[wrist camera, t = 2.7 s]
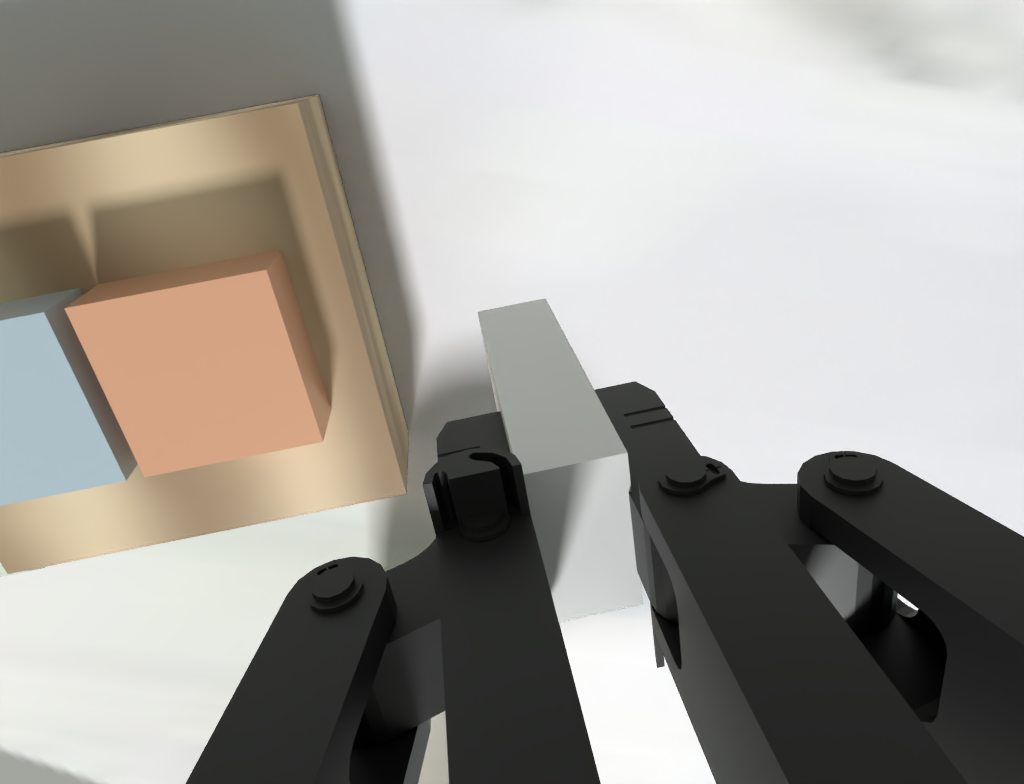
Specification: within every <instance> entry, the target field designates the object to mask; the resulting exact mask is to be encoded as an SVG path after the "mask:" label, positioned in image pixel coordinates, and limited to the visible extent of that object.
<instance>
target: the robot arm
mask: <svg viewBox="0 0 1024 784" xmlns="http://www.w3.org/2000/svg"><path fill="white" fill-rule="evenodd" d="M478 316H479V321H480V326H481V331H482V336H483V342H484V347H485V352H486V357H487V362H488V367H489V372H490V377H491V382H492V387H493V392H494V397H495V403H496V408H497V412H494V413H489V414H485V415H480V416H475V417H470V418H465V419H460V420H455V421H451V422H447V423H446V424H445V426H444V428H443V429H442V431H441V432H440V434H439V436H438V437H437V454H438V462H437V463H436V464H435V465H434V466H433V467H432V468H431V469H430V470H429V471H428V472H427V473H426V476H425V479H424V482H423V488H424V492H425V495H426V499H427V503H428V507H429V510H430V514H431V518H432V522H433V525H434V529H435V533H436V539H435V540H434V541H433V542H432V544H431V545H430V546H429V547H428V548H427V549H426V550H424V551H423V552H422V553H421V554H419V555H418V556H417V557H415V558H413V559H411V560H409V561H407V562H406V563H404V564H402V565H399V566H397V567H395V568H393V569H390V570H388V571H386V572H385V571H384V569H383V567H382V566H381V565H380V564H379V563H377V562H375V561H373V560H371V559H369V558H360V557H348V558H343V559H337V560H333V561H330V562H328V563H326V564H323V565H321V566H319V567H317V568H314V569H313V570H312V571H310V572H309V573H308V574H306V575H305V576H304V577H302V578H301V579H299V580H298V582H297V583H296V584H295V585H294V587H293V588H292V589H291V590H290V592H289V593H288V594H287V596H286V598H285V600H284V602H283V604H282V605H281V607H280V609H279V611H278V613H277V615H276V617H275V618H274V620H273V622H272V624H271V626H270V628H269V630H268V631H267V633H266V635H265V637H264V639H263V641H262V643H261V645H260V646H259V648H258V650H257V652H256V654H255V656H254V658H253V659H252V661H251V663H250V665H249V667H248V669H247V671H246V672H245V674H244V676H243V678H242V680H241V682H240V684H239V685H238V687H237V689H236V691H235V693H234V695H233V697H232V698H231V700H230V702H229V704H228V706H227V708H226V710H225V711H224V713H223V715H222V717H221V719H220V721H219V723H218V725H217V726H216V728H215V730H214V732H213V734H212V736H211V738H210V739H209V741H208V743H207V745H206V747H205V749H204V751H203V752H202V754H201V756H200V758H199V760H198V762H197V764H196V765H195V767H194V769H193V771H192V773H191V775H190V777H189V778H188V780H187V782H186V784H418V782H419V777H420V773H421V769H422V765H423V760H424V756H425V752H426V748H427V743H428V739H429V735H430V731H431V718H433V717H434V716H436V715H438V714H440V713H442V712H444V711H445V716H446V735H447V754H448V773H449V784H601V783H600V780H599V776H598V772H597V768H596V764H595V760H594V756H593V753H592V749H591V745H590V741H589V737H588V733H587V729H586V726H585V722H584V718H583V714H582V710H581V706H580V702H579V698H578V695H577V691H576V687H575V683H574V679H573V675H572V671H571V668H570V664H569V660H568V656H567V652H566V648H565V644H564V641H563V637H562V633H561V629H560V625H559V622H564V621H569V620H573V619H578V618H582V617H587V616H591V615H596V614H601V613H605V612H610V611H614V610H619V609H624V608H628V607H633V606H637V605H642V604H643V596H642V586H641V581H642V584H643V586H644V588H645V591H646V593H647V595H648V598H649V600H650V605H651V615H652V626H653V636H654V646H655V656H656V663H657V668H658V667H663V666H664V657H665V660H666V662H667V664H668V667H669V669H670V672H671V674H672V677H673V679H674V681H675V684H676V686H677V689H678V691H679V694H680V696H681V698H682V701H683V703H684V706H685V708H686V711H687V713H688V716H689V718H690V720H691V723H692V725H693V728H694V730H695V733H696V735H697V737H698V740H699V742H700V745H701V747H702V750H703V752H704V755H705V757H706V759H707V762H708V764H709V767H710V769H711V772H712V774H713V776H714V779H715V781H716V784H1024V537H1023V536H1021V535H1020V534H1018V533H1016V532H1014V531H1013V530H1011V529H1009V528H1007V527H1006V526H1004V525H1002V524H1000V523H998V522H997V521H995V520H993V519H991V518H990V517H988V516H986V515H984V514H983V513H981V512H979V511H977V510H975V509H974V508H972V507H970V506H968V505H967V504H965V503H963V502H961V501H960V500H958V499H956V498H954V497H952V496H951V495H949V494H947V493H945V492H944V491H942V490H940V489H938V488H937V487H935V486H933V485H931V484H929V483H928V482H926V481H924V480H922V479H921V478H919V477H917V476H915V475H913V474H912V473H910V472H908V471H906V470H905V469H903V468H901V467H899V466H898V465H896V464H894V463H892V462H890V461H887V460H885V459H882V458H880V457H878V456H875V455H871V454H865V453H860V452H854V451H839V452H829V453H825V454H821V455H817V456H814V457H813V458H811V459H809V460H808V461H806V462H805V463H803V464H802V466H801V468H800V470H799V472H798V475H797V484H755V483H746V482H741V481H740V480H739V479H738V478H737V476H736V475H735V474H734V472H733V471H732V470H731V469H729V468H728V467H727V466H726V465H725V464H723V463H722V462H720V461H717V460H715V459H712V458H709V457H706V456H700V454H699V453H698V452H697V450H696V449H695V447H694V446H693V445H692V443H691V442H690V440H689V439H688V437H687V436H686V435H685V433H684V432H683V430H682V429H681V428H680V426H679V425H678V423H677V422H676V420H674V419H673V416H672V415H671V413H670V412H669V411H668V409H667V408H665V405H664V404H663V402H662V401H661V399H660V398H659V396H658V395H657V394H656V392H655V391H653V390H651V389H649V388H647V387H645V386H643V385H641V384H639V383H637V382H631V383H626V384H621V385H616V386H611V387H606V388H601V389H596V390H594V389H593V387H592V385H591V383H590V381H589V379H588V378H587V376H586V374H585V372H584V370H583V368H582V366H581V364H580V362H579V361H578V359H577V357H576V355H575V353H574V351H573V349H572V347H571V346H570V344H569V342H568V340H567V338H566V336H565V334H564V332H563V331H562V329H561V327H560V325H559V323H558V321H557V319H556V317H555V316H554V314H553V312H552V310H551V308H550V306H549V304H548V302H547V301H546V299H540V300H535V301H530V302H525V303H520V304H515V305H510V306H505V307H500V308H495V309H490V310H485V311H480V312H478ZM898 593H899V594H900V595H901V596H903V597H904V598H905V599H907V600H908V601H909V602H911V603H912V604H913V605H915V606H916V607H917V608H919V609H918V611H917V610H914V609H912V608H911V607H909V606H907V605H906V604H905V603H903V602H902V601H901V600H899V599H898V598H897V595H898Z"/></svg>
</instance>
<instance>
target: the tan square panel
mask: <svg viewBox="0 0 1024 784" xmlns="http://www.w3.org/2000/svg"><path fill="white" fill-rule="evenodd" d="M276 250H281V251H282V254H283V257H284V260H285V264H286V267H287V270H288V273H289V276H290V279H291V283H292V286H293V289H294V292H295V295H296V298H297V302H298V305H299V308H300V311H301V314H302V317H303V321H304V324H305V327H306V330H307V333H308V336H309V340H310V343H311V346H312V349H313V352H314V356H315V359H316V362H317V365H318V368H319V371H320V375H321V378H322V381H323V384H324V387H325V390H326V394H327V397H328V400H329V403H330V406H331V409H332V410H331V413H330V417H329V421H328V425H327V429H326V433H325V436H324V440H323V442H320V443H315V444H310V445H305V446H300V447H295V448H290V449H285V450H280V451H275V452H270V453H265V454H260V455H255V456H250V457H245V458H240V459H235V460H230V461H224V462H219V463H214V464H209V465H204V466H199V467H194V468H189V469H184V470H179V471H174V472H169V473H164V474H159V475H154V476H149V477H144V476H143V474H142V472H141V469H140V467H139V465H137V466H136V468H135V469H134V471H133V472H132V473H131V475H130V476H129V478H128V479H127V481H124V482H119V483H114V484H109V485H103V486H98V487H93V488H88V489H83V490H78V491H73V492H68V493H63V494H58V495H53V496H48V497H43V498H38V499H33V500H28V501H23V502H18V503H13V504H8V505H3V506H0V563H1V564H2V566H3V568H4V569H5V571H6V572H7V574H11V573H16V572H21V571H26V570H31V569H36V568H41V567H46V566H51V565H56V564H61V563H66V562H71V561H76V560H81V559H86V558H91V557H96V556H101V555H106V554H111V553H116V552H120V551H125V550H130V549H135V548H140V547H145V546H150V545H155V544H160V543H165V542H170V541H175V540H180V539H185V538H190V537H195V536H200V535H205V534H210V533H215V532H220V531H225V530H230V529H235V528H240V527H245V526H250V525H255V524H260V523H265V522H270V521H275V520H280V519H285V518H290V517H295V516H299V515H304V514H309V513H314V512H319V511H324V510H329V509H334V508H339V507H344V506H349V505H354V504H359V503H364V502H369V501H374V500H379V499H384V498H389V497H394V496H399V495H404V494H406V493H407V468H408V444H409V433H408V429H407V426H406V422H405V418H404V414H403V411H402V407H401V403H400V399H399V395H398V392H397V388H396V384H395V380H394V377H393V373H392V369H391V365H390V361H389V358H388V354H387V350H386V346H385V343H384V339H383V335H382V331H381V327H380V324H379V320H378V316H377V312H376V309H375V305H374V301H373V297H372V293H371V290H370V286H369V282H368V278H367V275H366V271H365V267H364V263H363V259H362V256H361V252H360V248H359V244H358V241H357V237H356V233H355V229H354V225H353V222H352V218H351V214H350V210H349V207H348V203H347V199H346V195H345V191H344V188H343V184H342V180H341V176H340V173H339V169H338V165H337V161H336V157H335V154H334V150H333V146H332V142H331V139H330V135H329V131H328V127H327V123H326V120H325V116H324V112H323V108H322V104H321V101H320V97H319V95H314V96H308V97H303V98H297V99H292V100H287V101H281V102H276V103H270V104H265V105H260V106H254V107H249V108H243V109H238V110H232V111H227V112H222V113H216V114H211V115H205V116H200V117H194V118H189V119H184V120H178V121H173V122H167V123H162V124H156V125H151V126H146V127H140V128H135V129H129V130H124V131H118V132H113V133H108V134H102V135H97V136H91V137H86V138H81V139H75V140H70V141H64V142H59V143H53V144H48V145H43V146H37V147H32V148H26V149H21V150H15V151H10V152H5V153H0V303H3V302H8V301H14V300H19V299H24V298H29V297H35V296H40V295H45V294H50V293H56V292H61V291H66V290H71V289H77V288H80V290H81V292H82V294H83V295H84V294H85V293H87V292H88V291H89V290H91V289H92V288H94V287H95V286H97V285H98V284H103V283H108V282H113V281H119V280H124V279H129V278H134V277H140V276H145V275H150V274H155V273H161V272H166V271H171V270H177V269H182V268H187V267H192V266H198V265H203V264H208V263H213V262H219V261H224V260H229V259H234V258H240V257H245V256H250V255H255V254H261V253H266V252H271V251H276Z"/></svg>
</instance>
